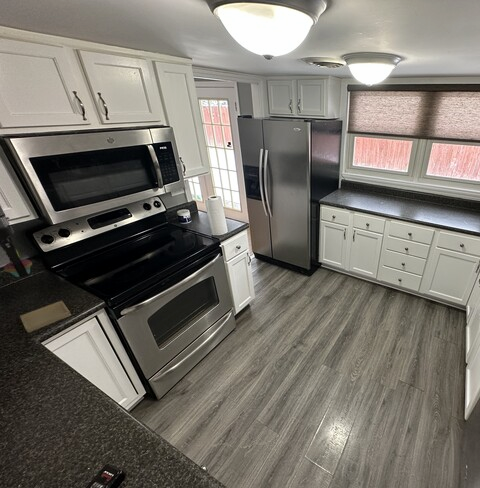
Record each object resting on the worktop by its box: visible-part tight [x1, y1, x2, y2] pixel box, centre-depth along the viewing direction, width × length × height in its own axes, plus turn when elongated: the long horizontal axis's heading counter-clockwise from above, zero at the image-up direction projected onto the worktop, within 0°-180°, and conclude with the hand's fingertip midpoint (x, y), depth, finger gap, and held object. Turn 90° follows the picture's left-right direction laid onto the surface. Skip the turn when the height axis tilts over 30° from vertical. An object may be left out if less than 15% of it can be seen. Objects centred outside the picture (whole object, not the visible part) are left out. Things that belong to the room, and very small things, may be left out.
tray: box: [19, 300, 72, 334], centre depth 119 cm, size 13×14×2 cm
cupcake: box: [3, 248, 33, 278], centre depth 118 cm, size 9×8×12 cm
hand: (22, 272), depth 121 cm, fingers closed on cupcake, 8 cm apart
